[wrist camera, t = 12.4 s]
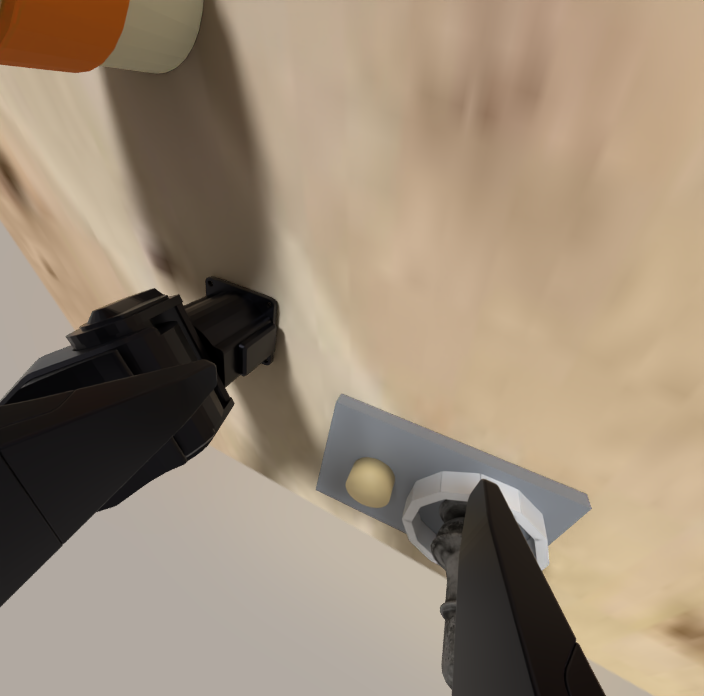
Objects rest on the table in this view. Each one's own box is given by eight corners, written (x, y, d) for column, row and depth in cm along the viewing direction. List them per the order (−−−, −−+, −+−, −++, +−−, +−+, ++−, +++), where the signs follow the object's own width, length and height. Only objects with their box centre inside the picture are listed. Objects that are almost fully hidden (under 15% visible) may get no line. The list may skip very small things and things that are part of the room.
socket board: (320, 480, 33) (307, 506, 31) (341, 393, 26) (326, 417, 24) (505, 568, 30) (507, 606, 27) (586, 494, 23) (601, 535, 20)
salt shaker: (425, 518, 28) (397, 698, 19) (451, 483, 25) (432, 680, 15) (488, 548, 27) (492, 757, 18) (523, 516, 24) (551, 750, 14)
